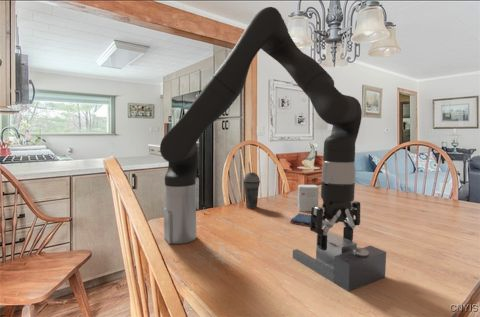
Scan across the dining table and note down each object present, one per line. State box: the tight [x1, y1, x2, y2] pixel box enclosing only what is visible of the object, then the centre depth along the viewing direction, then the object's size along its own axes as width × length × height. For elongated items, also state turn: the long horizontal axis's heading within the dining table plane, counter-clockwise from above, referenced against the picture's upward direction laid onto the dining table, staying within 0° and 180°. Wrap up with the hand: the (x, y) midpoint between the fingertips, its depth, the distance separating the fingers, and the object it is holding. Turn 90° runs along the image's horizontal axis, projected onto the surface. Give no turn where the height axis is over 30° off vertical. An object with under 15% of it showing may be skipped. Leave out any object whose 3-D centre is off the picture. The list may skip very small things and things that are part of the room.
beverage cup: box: [243, 162, 261, 210], centre depth 122 cm, size 7×7×20 cm
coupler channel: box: [292, 245, 387, 292], centre depth 68 cm, size 12×18×7 cm, turn 28°
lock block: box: [315, 232, 358, 269], centre depth 67 cm, size 5×8×7 cm, turn 28°
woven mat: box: [289, 212, 317, 227], centre depth 103 cm, size 10×11×2 cm
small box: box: [297, 184, 319, 212], centre depth 118 cm, size 8×6×10 cm
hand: (335, 245), depth 67 cm, fingers open, 8 cm apart
